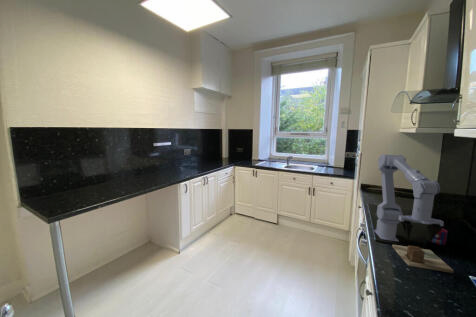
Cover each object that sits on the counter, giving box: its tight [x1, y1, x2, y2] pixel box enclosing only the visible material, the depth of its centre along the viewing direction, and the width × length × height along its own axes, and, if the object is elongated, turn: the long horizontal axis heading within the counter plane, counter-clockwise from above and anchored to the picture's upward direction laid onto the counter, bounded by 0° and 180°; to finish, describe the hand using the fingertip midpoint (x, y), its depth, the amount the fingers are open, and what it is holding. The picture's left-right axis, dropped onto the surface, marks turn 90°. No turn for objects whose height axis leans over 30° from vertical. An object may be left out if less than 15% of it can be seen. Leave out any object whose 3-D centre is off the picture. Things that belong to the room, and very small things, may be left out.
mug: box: [430, 227, 449, 246], centre depth 101 cm, size 7×10×7 cm
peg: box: [406, 245, 425, 263], centre depth 84 cm, size 4×4×6 cm
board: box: [391, 244, 454, 274], centre depth 86 cm, size 14×15×2 cm
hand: (417, 238), depth 83 cm, fingers open, 7 cm apart
